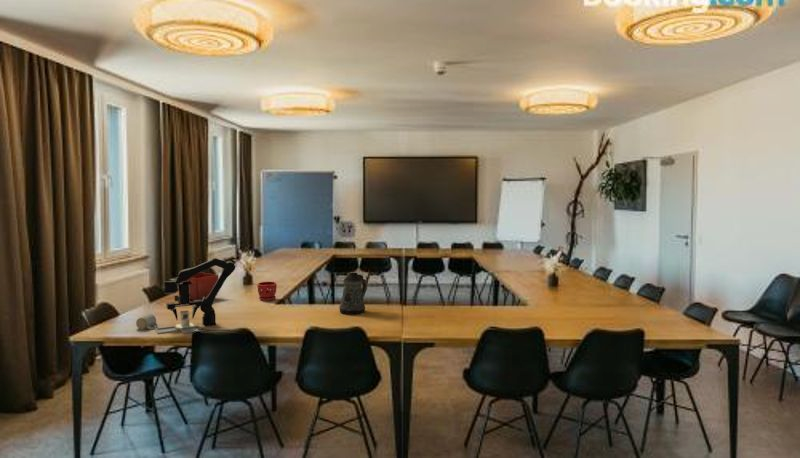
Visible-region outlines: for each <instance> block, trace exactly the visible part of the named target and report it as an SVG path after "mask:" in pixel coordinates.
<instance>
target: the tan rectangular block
mask: <svg viewBox="0 0 800 458" xmlns="http://www.w3.org/2000/svg"><path fill="white" fill-rule="evenodd" d="M189 323H190V311H189V310H180V324H181V326H189Z"/></svg>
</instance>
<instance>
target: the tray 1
mask: <svg viewBox="0 0 800 458" xmlns="http://www.w3.org/2000/svg"><path fill="white" fill-rule="evenodd" d="M154 330H155V331H156V333H157V335H161V334H167V333H168V334H170V333H178V332H179V328H177V327H176V325H172V326H165V327H157V328H155V329H154Z"/></svg>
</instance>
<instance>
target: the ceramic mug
mask: <svg viewBox="0 0 800 458" xmlns="http://www.w3.org/2000/svg"><path fill="white" fill-rule="evenodd" d="M135 323H136V325H135V326H136V327H137V329H138V330H156V329H155V328H159V325H158V323H157V319H156V316H155V315H154V314H152V313H147V314H145V315H142V316H140V317H139V318H138V319H137V320H136V322H135Z"/></svg>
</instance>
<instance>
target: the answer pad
mask: <svg viewBox="0 0 800 458" xmlns="http://www.w3.org/2000/svg"><path fill="white" fill-rule="evenodd" d="M175 326H176V328H177V329H180V328H187V327H195V325H194V323H193V322H189V326H181V323H179V324H175Z"/></svg>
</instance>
